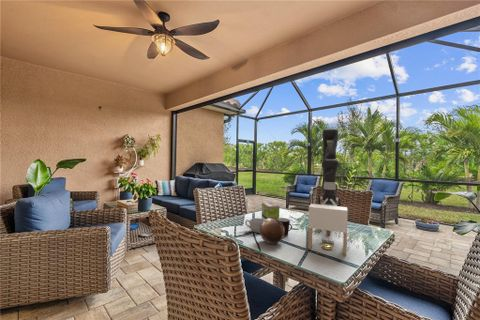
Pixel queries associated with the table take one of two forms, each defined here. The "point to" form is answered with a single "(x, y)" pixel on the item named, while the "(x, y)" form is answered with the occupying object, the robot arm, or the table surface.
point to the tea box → (270, 210)
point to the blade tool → (327, 238)
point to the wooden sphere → (272, 230)
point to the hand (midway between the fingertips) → (328, 212)
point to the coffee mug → (285, 225)
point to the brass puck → (327, 246)
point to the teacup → (255, 224)
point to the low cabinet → (328, 221)
